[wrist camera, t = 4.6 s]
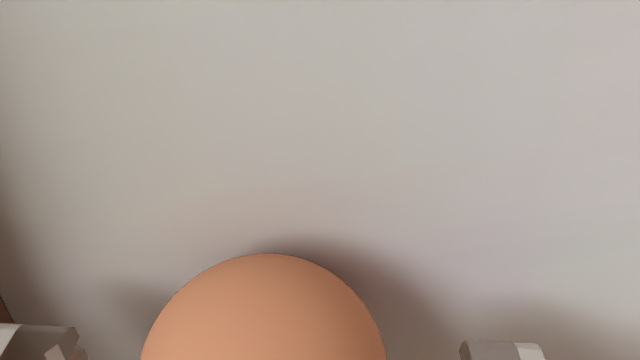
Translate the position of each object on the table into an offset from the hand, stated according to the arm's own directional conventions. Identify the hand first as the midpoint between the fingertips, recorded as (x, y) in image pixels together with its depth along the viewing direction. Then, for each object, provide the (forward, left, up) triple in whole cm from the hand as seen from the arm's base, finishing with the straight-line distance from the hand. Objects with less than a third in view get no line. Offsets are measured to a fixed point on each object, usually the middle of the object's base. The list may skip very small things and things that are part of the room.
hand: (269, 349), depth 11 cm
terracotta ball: (0, 0, +1) cm, 1 cm away
